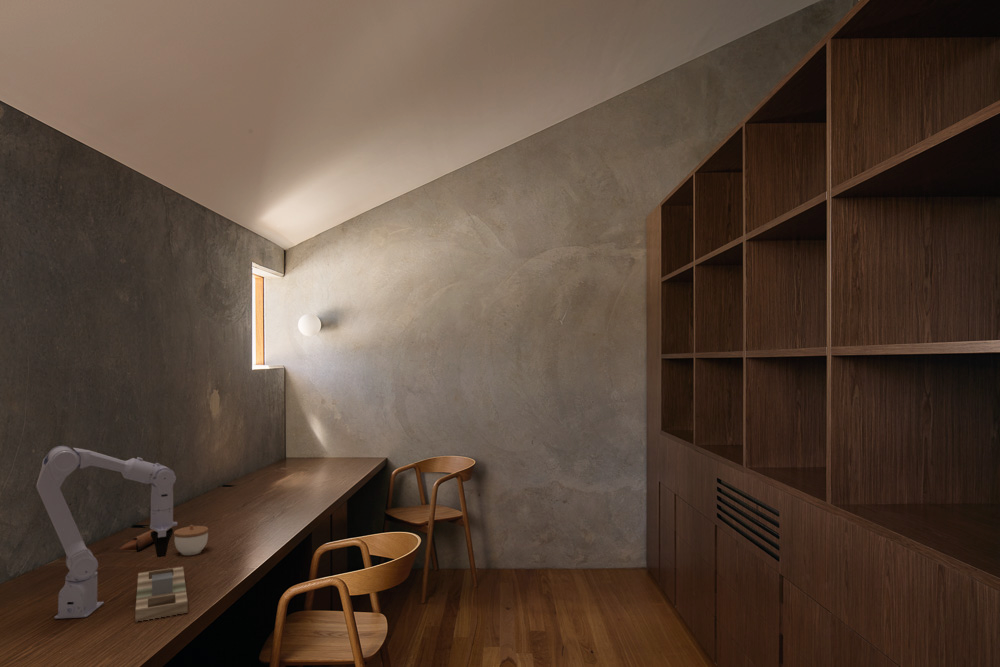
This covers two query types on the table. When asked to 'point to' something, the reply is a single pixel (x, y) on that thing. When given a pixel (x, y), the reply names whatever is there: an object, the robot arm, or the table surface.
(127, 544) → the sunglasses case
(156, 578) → the block
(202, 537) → the lidded jar
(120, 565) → the table surface
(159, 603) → the trap deck
